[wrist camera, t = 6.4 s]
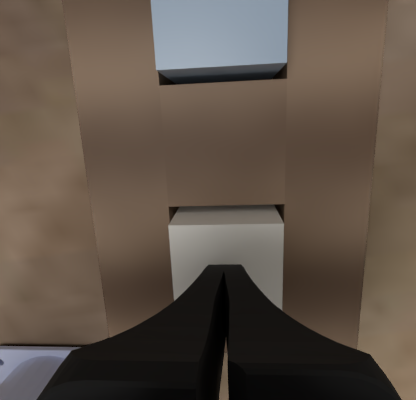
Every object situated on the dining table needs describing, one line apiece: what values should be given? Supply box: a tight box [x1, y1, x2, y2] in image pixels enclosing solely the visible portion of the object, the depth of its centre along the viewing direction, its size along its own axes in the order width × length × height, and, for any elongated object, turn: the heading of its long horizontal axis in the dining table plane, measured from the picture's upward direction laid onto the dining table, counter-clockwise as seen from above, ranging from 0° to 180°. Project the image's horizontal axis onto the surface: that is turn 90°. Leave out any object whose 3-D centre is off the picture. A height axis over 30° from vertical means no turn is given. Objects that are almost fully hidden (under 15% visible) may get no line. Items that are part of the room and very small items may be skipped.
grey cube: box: [151, 0, 288, 84], centre depth 12 cm, size 4×4×4 cm
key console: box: [62, 0, 388, 353], centre depth 15 cm, size 20×12×4 cm, turn 2°
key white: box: [168, 204, 284, 310], centre depth 14 cm, size 4×4×4 cm
